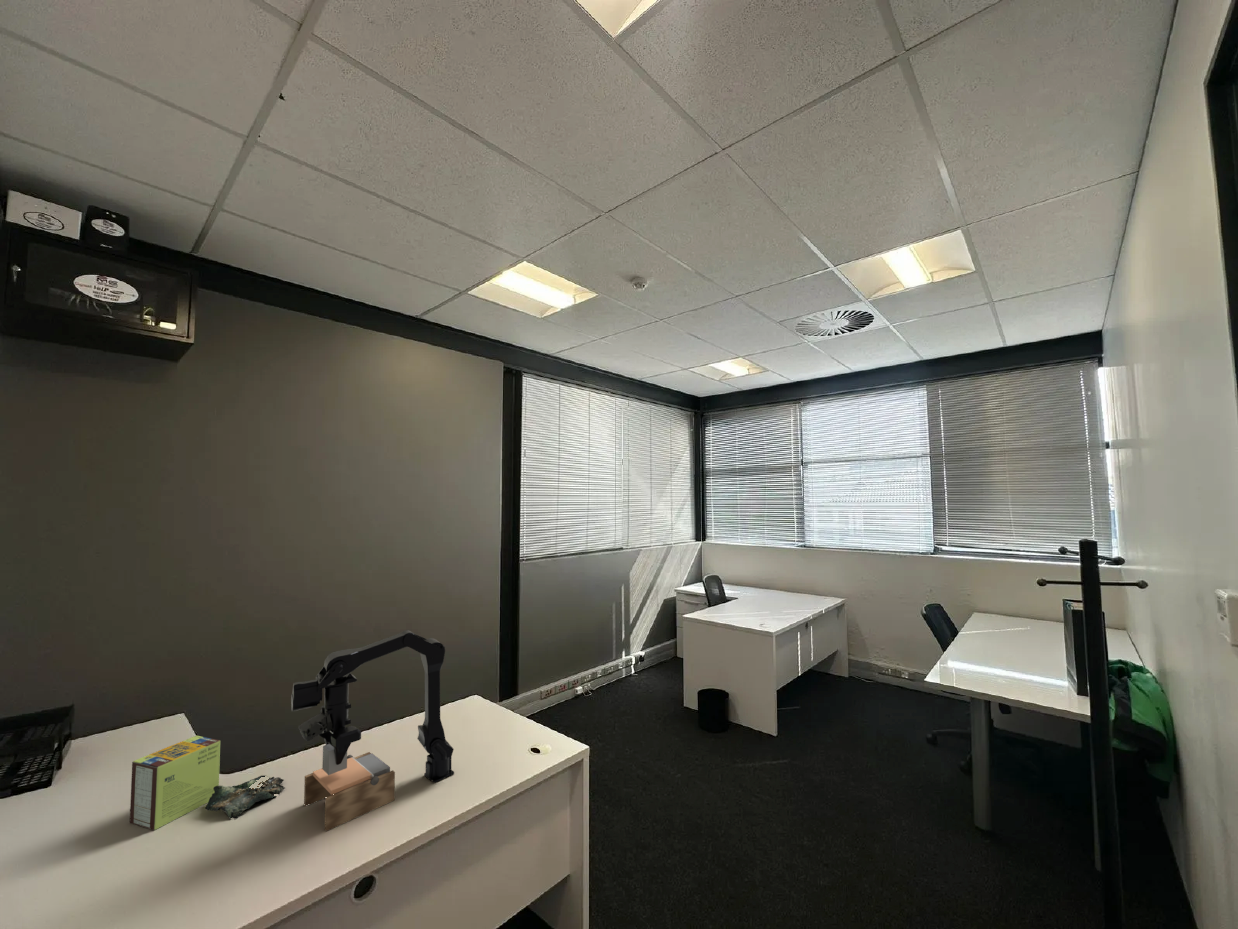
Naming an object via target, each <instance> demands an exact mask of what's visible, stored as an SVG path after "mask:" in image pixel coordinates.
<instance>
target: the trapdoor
mask: <svg viewBox="0 0 1238 929" xmlns="http://www.w3.org/2000/svg"><path fill="white" fill-rule="evenodd" d="M370 753H371V752H370ZM390 771H391V766H390V765H388V764H387V763H385V761H383V760H382V759H380V758H379V757H378V756H376V755H375V754H374V753H371V754H369V755H366V756H363V757H361V758H358V759H354V756H353V757H351V758H349V759H347V768H346V769H343V770H341V771H338V772H336V773H333V774H330V775H328V774H327V773H326V772H325V771H324V770H323V769H322V768H319V769H317V770H314V771H313V770H312V773H313V776H314V777H315V778H316V779H317V780H318V782H319V783H320V784H321V785H322V786H323V787H324V788H325V789H326V790H327V791H328V792H329V793H330V794H331V795H332V794H335V793H337V792H340V791H342V790H345V789H347V788H349V787H352V786H354V785H357V784H359V783H362V782H366V781H368V780H370V779H372V778H373V777H374V776H377V777H378V776H380V775H383V774H385V773H388V772H390Z"/></svg>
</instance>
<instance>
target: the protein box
mask: <svg viewBox="0 0 1238 929" xmlns="http://www.w3.org/2000/svg"><path fill="white" fill-rule="evenodd" d="M220 755H221V740H220V739H215V738H210V737H206V736H200V735H194V736H191V737H189V738H187V739H185V740H182V741H180V742H177V743H175V744H172V745H169V746H167V747H164V748H162V749H159V750H158V751H155V752H151V753H149V754H147V755H145V756H141V757H140V758H137V759H134V760H133V761H132V762H131V763H132V764H131V779H130V780H131V781H130V782H131V784H130V786H131V787H130V788H131V789H130V804H129V805H130V806H129V807H130V808H129V824H132V825H136V826H138V827H139V826H140V827H143V828H146V829H149V830H152V831H156V830H157V829H160V828H162V827H164V826H165V825H167V824H169V823H171V822H173V821H176V820H177V819H179V818H181V817H182V816H185V815H187V814H189V813H190V812H193V811H194V810H196V809H198V808H200V807H202V806H204V805H207V804H208V801H209V799H210V797H211V796H212V794H213V793H215V792H214V789H213V788H214V787H215V786H217V785H218V786H220V764H221V762H220V761H221V756H220Z"/></svg>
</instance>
